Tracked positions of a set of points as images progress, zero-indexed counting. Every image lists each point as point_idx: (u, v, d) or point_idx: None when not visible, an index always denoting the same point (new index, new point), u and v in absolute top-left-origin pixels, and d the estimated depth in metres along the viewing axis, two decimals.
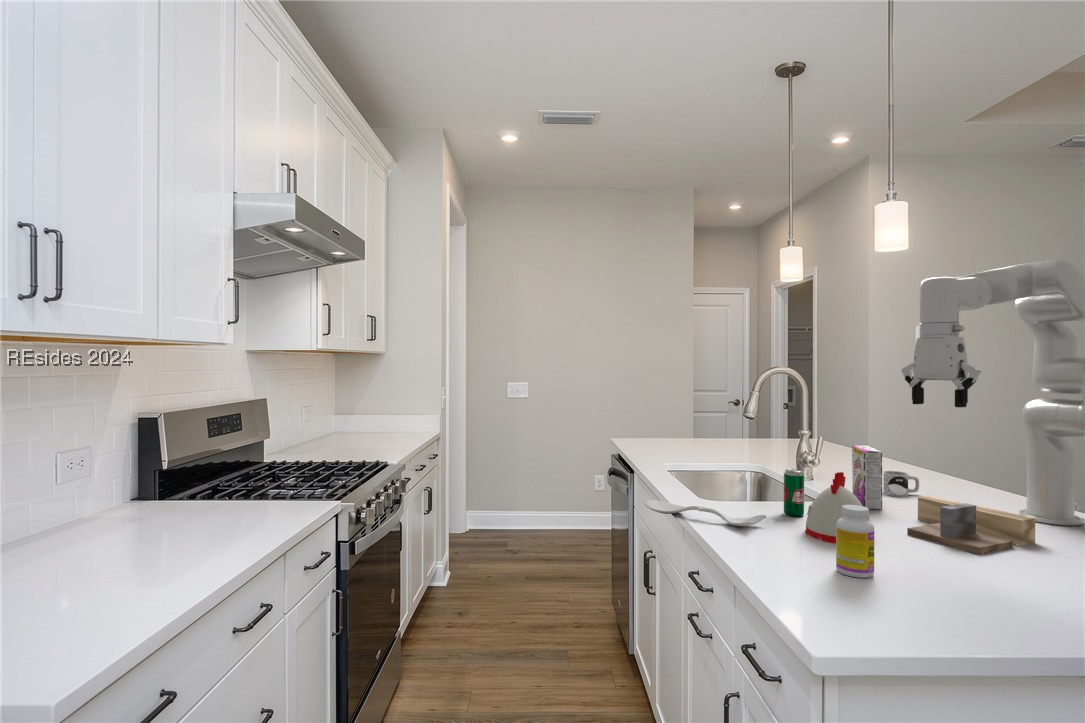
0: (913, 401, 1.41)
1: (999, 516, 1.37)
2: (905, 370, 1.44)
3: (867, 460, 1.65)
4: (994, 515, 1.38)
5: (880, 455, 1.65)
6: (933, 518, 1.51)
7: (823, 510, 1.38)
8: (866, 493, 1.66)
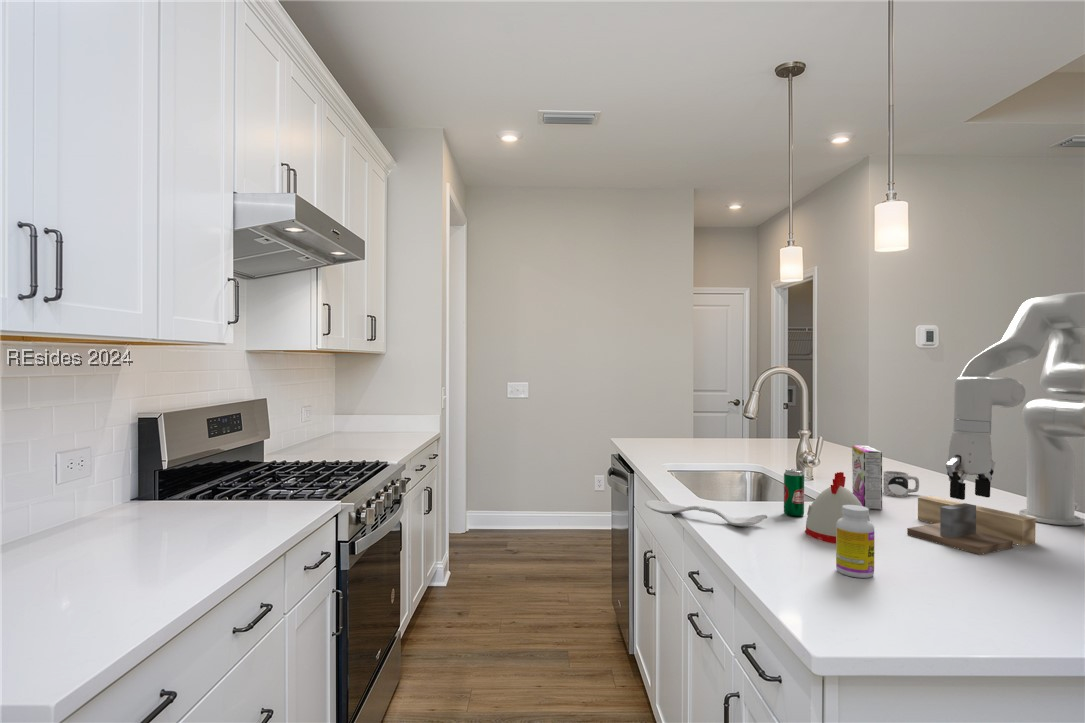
0: (964, 497, 1.41)
1: (999, 516, 1.37)
2: (953, 466, 1.41)
3: (867, 460, 1.65)
4: (994, 515, 1.38)
5: (880, 455, 1.65)
6: (933, 518, 1.51)
7: (823, 510, 1.38)
8: (866, 493, 1.66)
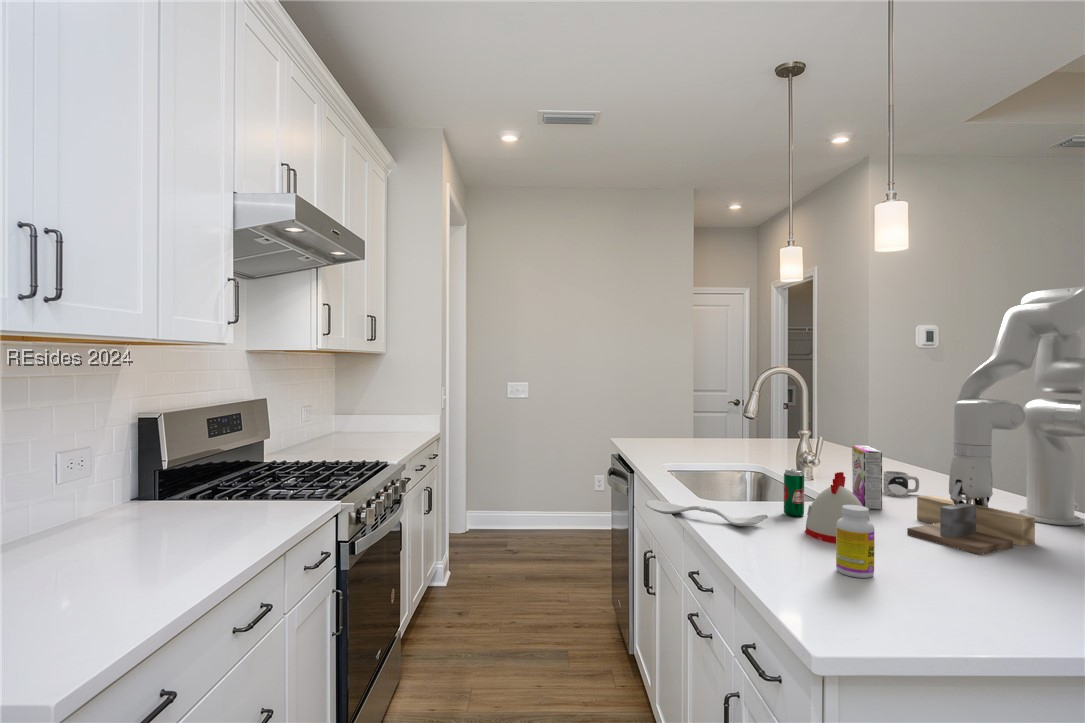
0: None
1: (999, 515, 1.37)
2: (957, 497, 1.42)
3: (867, 460, 1.65)
4: (994, 514, 1.38)
5: (880, 455, 1.65)
6: (933, 517, 1.51)
7: (823, 510, 1.38)
8: (866, 493, 1.66)
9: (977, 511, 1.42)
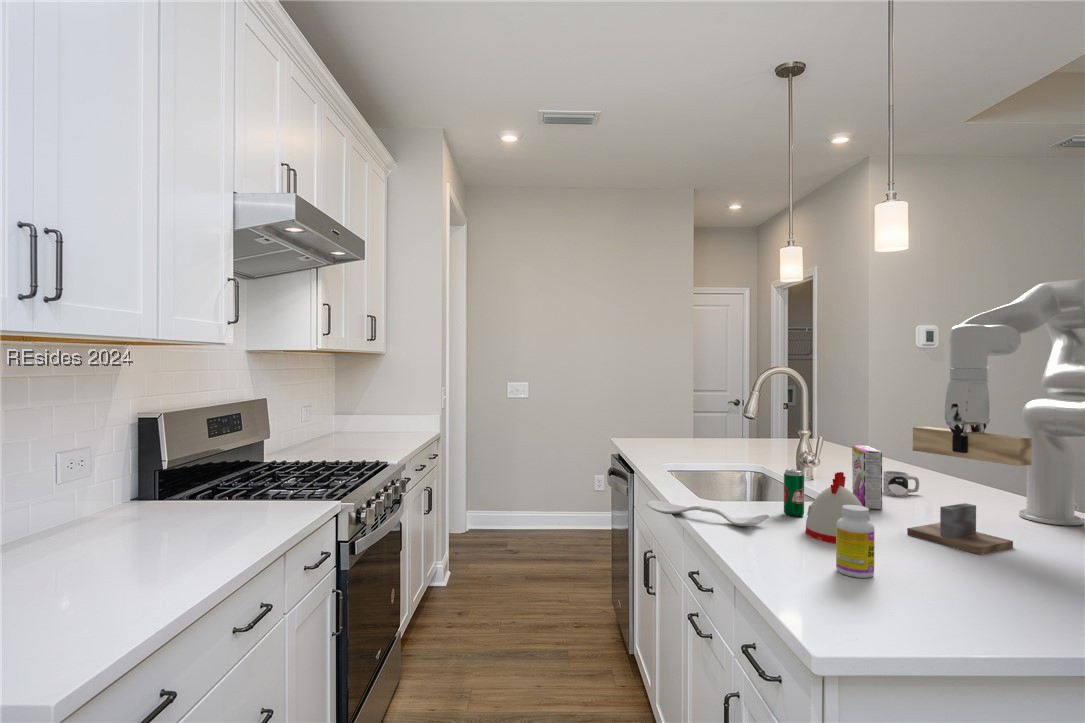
0: (967, 450, 1.40)
1: (995, 437, 1.35)
2: (953, 421, 1.39)
3: (867, 460, 1.65)
4: (990, 436, 1.36)
5: (880, 455, 1.65)
6: (928, 447, 1.49)
7: (823, 510, 1.38)
8: (866, 493, 1.66)
9: (973, 435, 1.39)
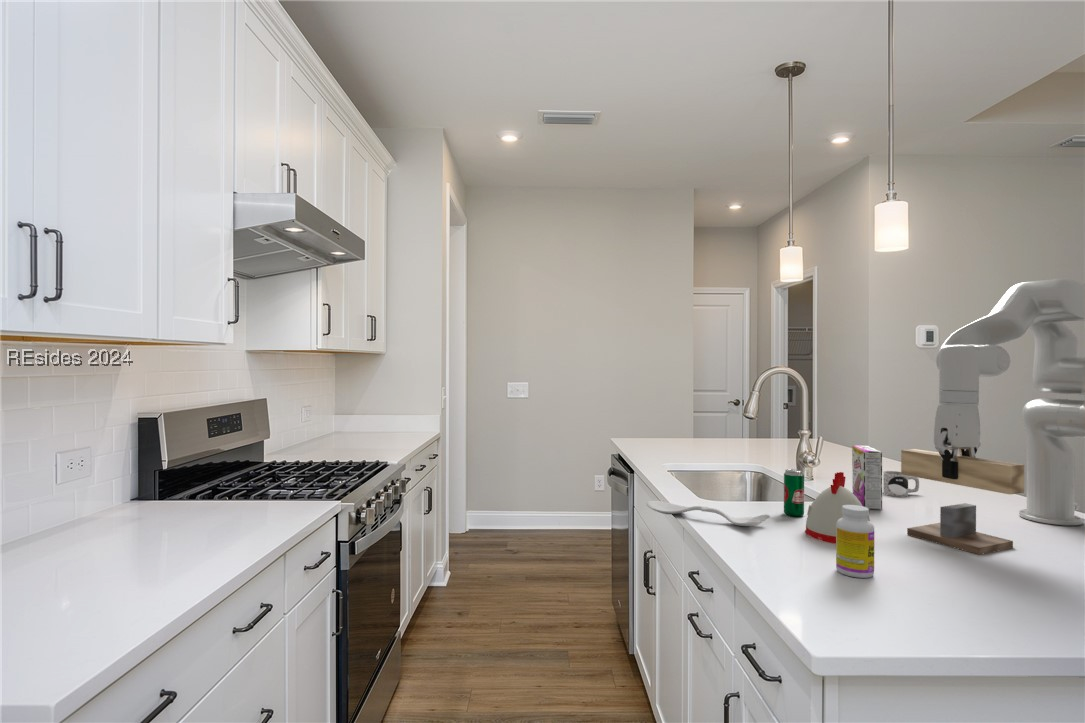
0: (957, 476, 1.34)
1: (986, 463, 1.29)
2: (942, 446, 1.33)
3: (867, 460, 1.65)
4: (981, 462, 1.30)
5: (880, 455, 1.65)
6: (917, 471, 1.43)
7: (823, 510, 1.38)
8: (866, 493, 1.66)
9: (963, 461, 1.33)
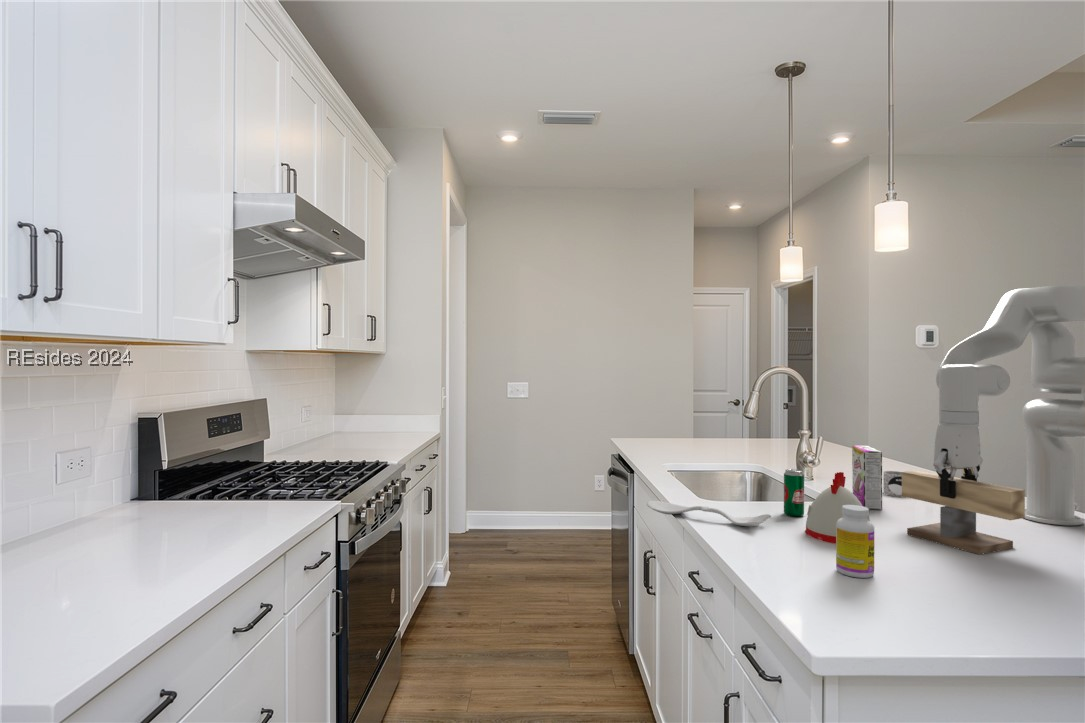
0: (954, 495, 1.34)
1: (986, 488, 1.29)
2: (941, 464, 1.33)
3: (867, 460, 1.65)
4: (981, 487, 1.30)
5: (880, 455, 1.65)
6: (918, 493, 1.43)
7: (823, 510, 1.38)
8: (866, 493, 1.66)
9: (964, 485, 1.33)
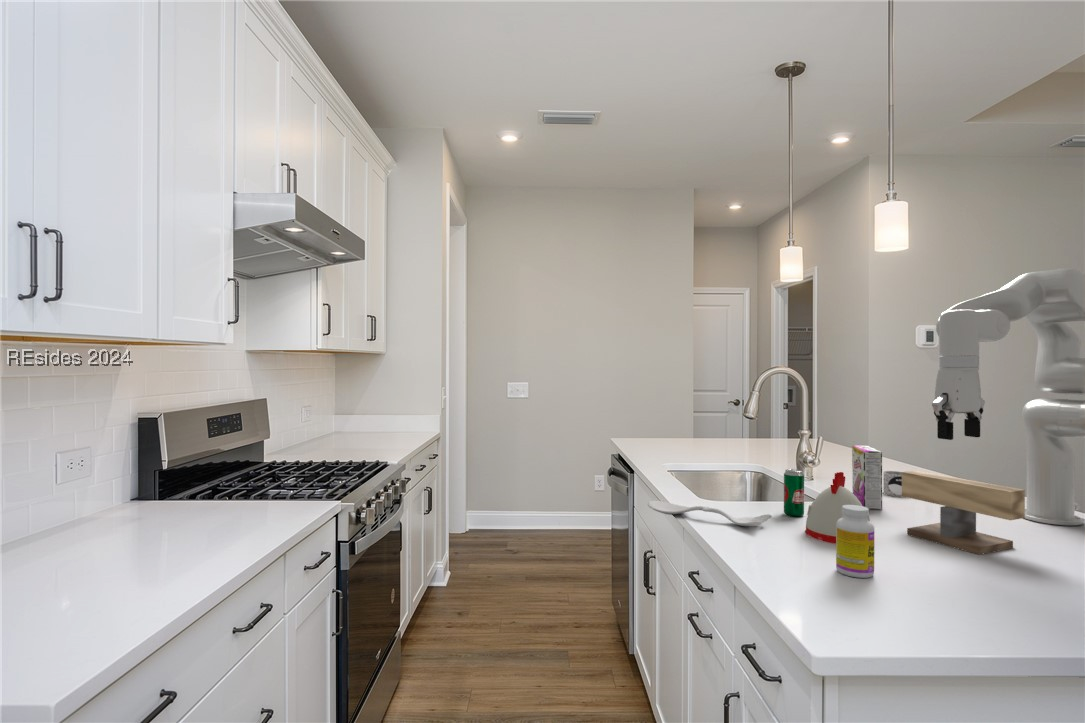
0: (952, 437, 1.33)
1: (986, 488, 1.29)
2: (939, 404, 1.33)
3: (867, 460, 1.65)
4: (981, 487, 1.30)
5: (880, 455, 1.65)
6: (918, 493, 1.43)
7: (823, 510, 1.38)
8: (866, 493, 1.66)
9: (964, 485, 1.33)
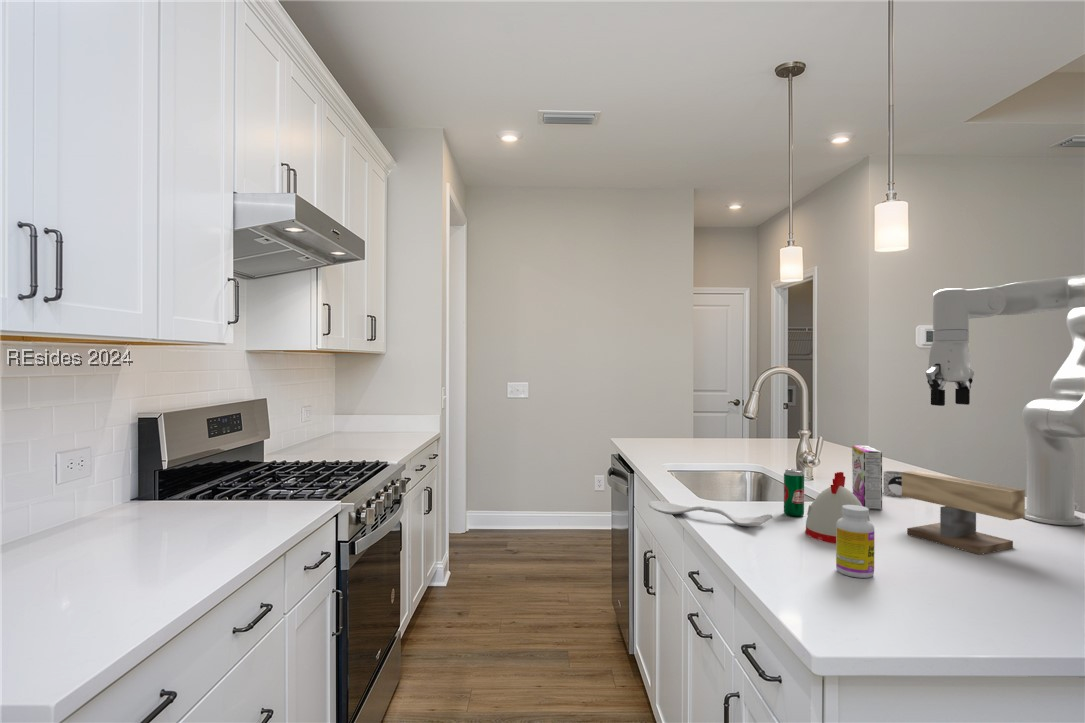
0: (944, 403, 1.48)
1: (986, 488, 1.29)
2: (932, 373, 1.47)
3: (867, 460, 1.65)
4: (981, 487, 1.30)
5: (880, 455, 1.65)
6: (918, 493, 1.43)
7: (823, 510, 1.38)
8: (866, 493, 1.66)
9: (964, 485, 1.33)
